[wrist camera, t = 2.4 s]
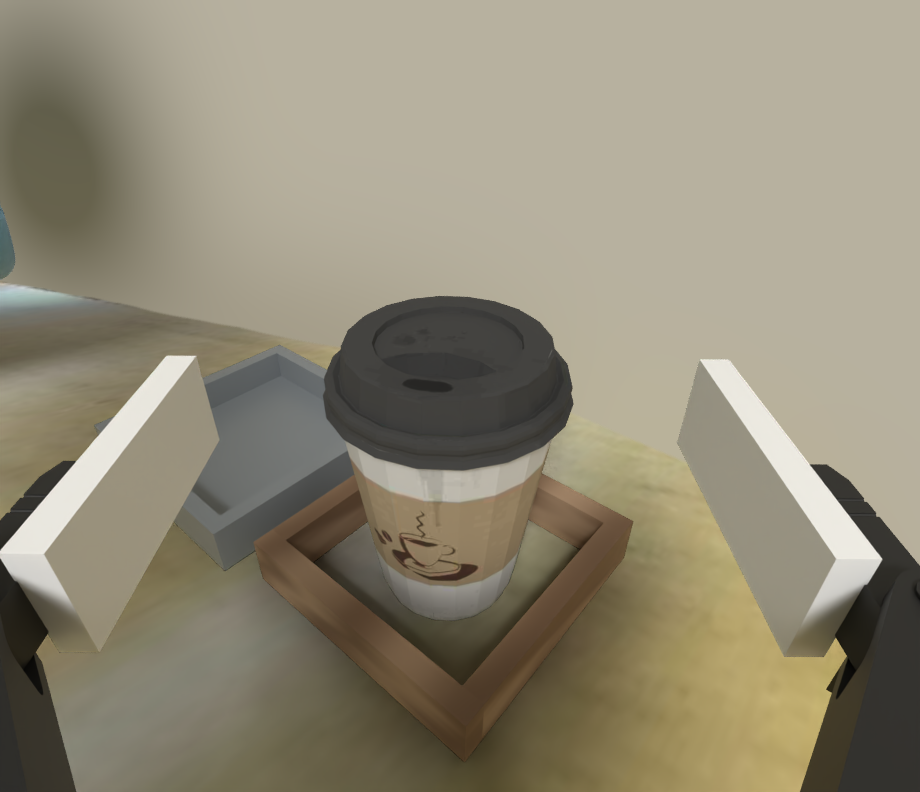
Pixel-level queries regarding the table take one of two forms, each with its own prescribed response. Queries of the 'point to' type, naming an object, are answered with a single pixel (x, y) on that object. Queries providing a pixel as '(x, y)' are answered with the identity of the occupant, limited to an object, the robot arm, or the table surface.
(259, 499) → the tray
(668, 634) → the table surface
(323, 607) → the collar
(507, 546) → the coffee cup
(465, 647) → the table surface
